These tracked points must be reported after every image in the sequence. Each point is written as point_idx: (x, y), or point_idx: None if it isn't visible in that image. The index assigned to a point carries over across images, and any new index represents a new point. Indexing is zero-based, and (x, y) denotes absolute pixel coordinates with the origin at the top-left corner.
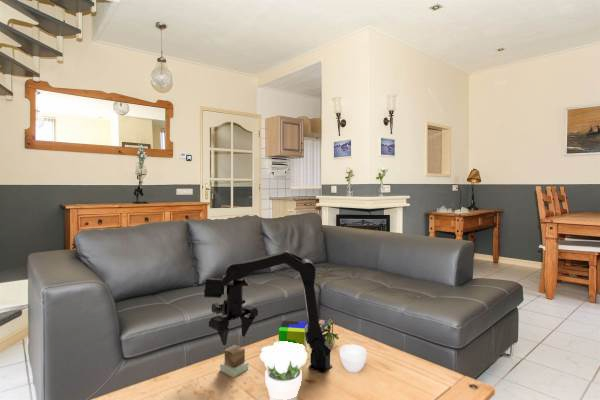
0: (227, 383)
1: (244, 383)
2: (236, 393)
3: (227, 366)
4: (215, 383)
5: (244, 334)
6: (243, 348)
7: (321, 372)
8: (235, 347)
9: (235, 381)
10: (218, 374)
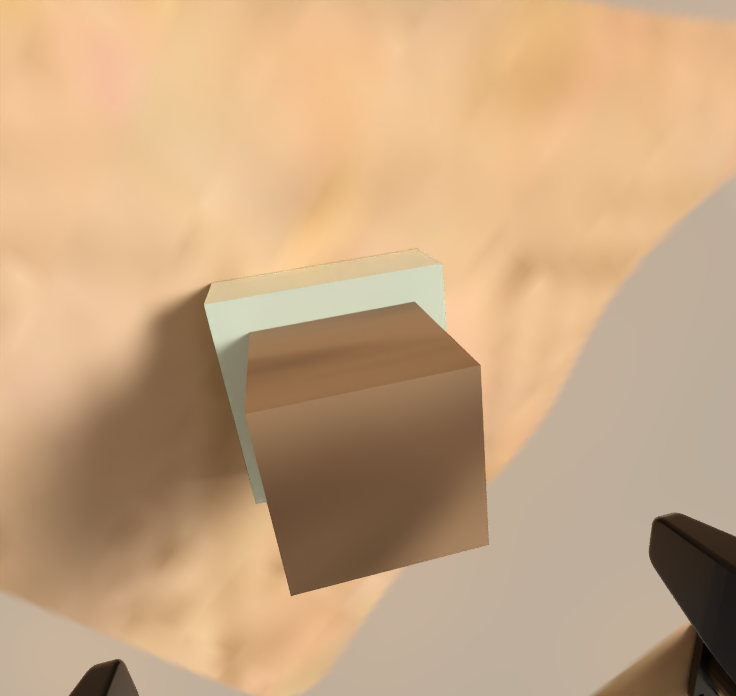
0: (158, 508)
1: (274, 571)
2: (151, 642)
3: (240, 409)
4: (59, 454)
5: (685, 610)
6: (484, 527)
7: (688, 690)
8: (425, 445)
9: (232, 517)
10: (159, 336)
